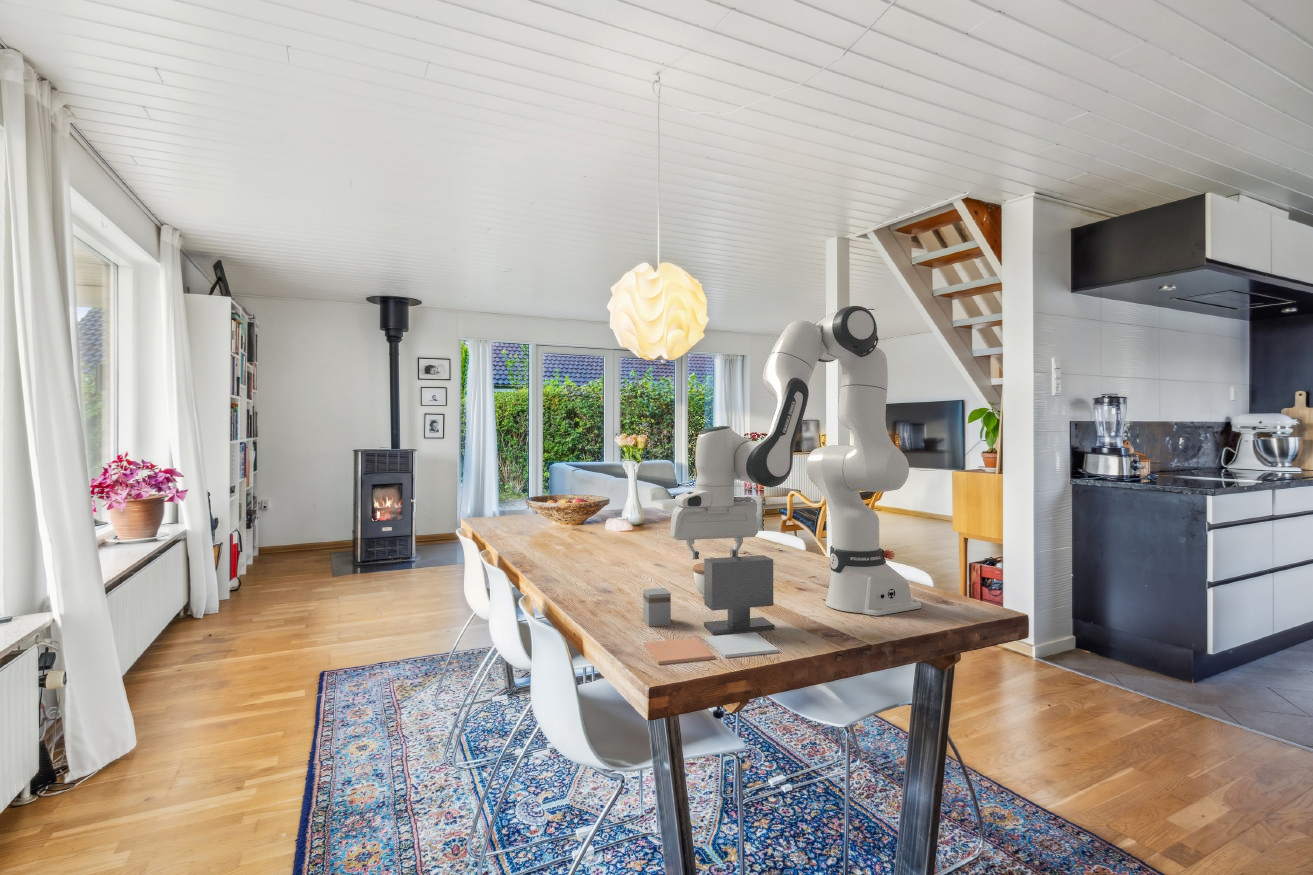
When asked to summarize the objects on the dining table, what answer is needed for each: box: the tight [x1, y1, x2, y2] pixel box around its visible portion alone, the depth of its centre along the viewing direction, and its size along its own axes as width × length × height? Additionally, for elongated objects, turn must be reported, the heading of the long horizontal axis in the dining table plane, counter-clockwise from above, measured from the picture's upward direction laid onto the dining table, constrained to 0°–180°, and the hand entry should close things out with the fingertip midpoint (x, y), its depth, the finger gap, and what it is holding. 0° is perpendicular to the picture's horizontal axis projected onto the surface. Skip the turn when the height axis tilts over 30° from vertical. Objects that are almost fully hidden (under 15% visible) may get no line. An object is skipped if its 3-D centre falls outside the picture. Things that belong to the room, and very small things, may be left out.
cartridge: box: [642, 587, 672, 628], centre depth 147 cm, size 5×5×7 cm
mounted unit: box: [703, 554, 775, 636], centre depth 142 cm, size 14×6×15 cm, turn 105°
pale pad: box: [705, 631, 779, 659], centre depth 131 cm, size 11×11×1 cm
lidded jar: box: [692, 562, 704, 598], centre depth 169 cm, size 11×11×9 cm
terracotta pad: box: [643, 637, 716, 665], centre depth 127 cm, size 11×11×1 cm
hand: (714, 557), depth 150 cm, fingers open, 8 cm apart
